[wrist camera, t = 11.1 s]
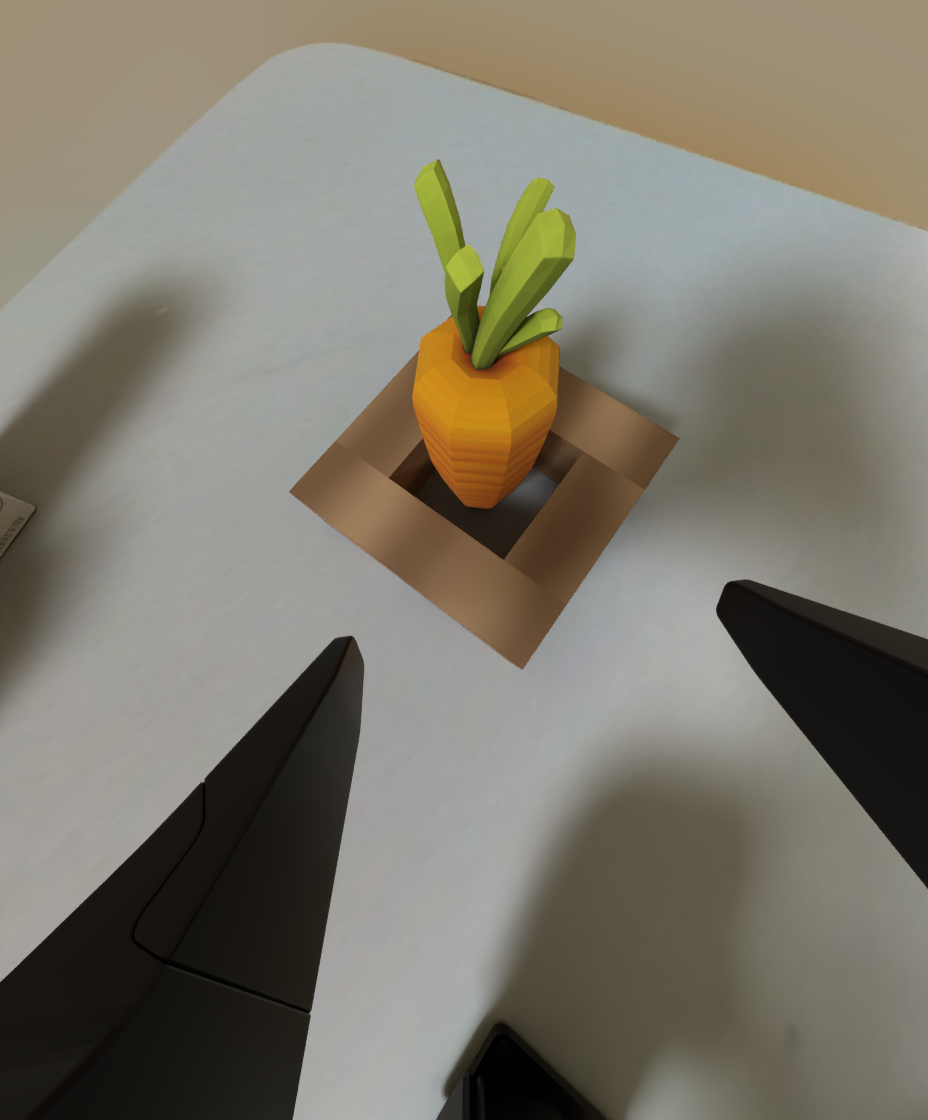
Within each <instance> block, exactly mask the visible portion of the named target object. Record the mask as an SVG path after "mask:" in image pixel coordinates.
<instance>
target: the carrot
mask: <svg viewBox="0 0 928 1120" xmlns="http://www.w3.org/2000/svg"><path fill="white" fill-rule="evenodd" d="M414 188H415V191H416V194H417V197H418V199H419V202H420V205H421V208H422V211H423V213H424V216H425V218H426V221H427V223H428V226H429V228H430V231H431V233H432V236H433V238H434V241H435V244H436V247H437V250H438V253H439V256H440V259H441V262H442V265H443V268H444V271H445V291H446V299H447V302H448V305H449V308H450V311H451V313H452V317H451V318H449V319H448V320H446V321H445V322H443V323H442V324H441V325H439V326H438V327H436V328H435V329H433V330H432V331H431V332H429V333H428V334H426V335H425V336H423V337H422V338H421V342H420V349H419V355H418V362H417V369H416V375H415V382H414V388H413V395H412V399H413V407H414V410H415V413H416V416H417V420H418V423H419V426H420V429H421V433H422V436H423V439H424V442H425V444H426V447H427V450H428V453H429V455H430V458H431V461H432V463H433V464H434V466H435V468H436V469H437V471H438V472H439V474H440V476H441V477H442V478H443V480H444V481H445V482H446V484H447V485H448V486H449V488H450V489H451V490H452V491H453V492H454V493H455V494H456V496H457V497H458V498H459V499H460V500H461V501H462V503H463V504H464V505H465V506H468V507H473V508H484V509H489V508H492V507H494V506H495V505H496V504H497V503H499V502H500V501H501V500H502V499H504V498H505V497H506V496H507V495H509V494H510V493H511V492H512V491H513V490H514V489H515V488H516V487H517V486H518V485H519V484H520V483H521V482H522V480H523V479H524V478H525V477H526V475H527V474H528V473H529V471H530V470H531V469H532V467H533V465H534V462H535V460H536V458H537V456H538V454H539V452H540V450H541V448H542V446H543V444H544V441H545V439H546V436H547V434H548V432H549V429H550V427H551V425H552V422H553V420H554V418H555V414H556V410H557V398H558V377H559V357H560V354H559V346H558V345H557V344H556V343H555V342H554V341H553V340H551V339H550V338H549V337H548V335H550V334H552V333H554V332H557V331H559V330H561V329H562V316H561V315H560V314H559V313H558V312H557V311H556V310H555V309H551V308H546V309H543V310H540V311H537V312H535V313H533V314H531V315H530V316H528V317H527V315H528V314H529V313H530V312H531V311H532V310H533V309H534V307H535V306H536V305H537V304H538V303H539V302H540V301H541V299H542V298H543V297H544V296H545V295H546V294H547V293H548V291H549V290H550V289H551V288H552V286H553V285H554V284H555V283H556V281H557V280H558V279H559V277H560V276H561V275H562V273H563V272H564V271H565V270H566V268H567V267H568V266H569V264H570V263H571V262H572V261H573V259H574V253H575V240H576V233H575V230H574V227H573V225H572V222H571V219H570V216H569V215H567V214H566V213H564V212H562V211H561V210H559V209H557V208H555V209H551V210H548V211H544V212H543V210H544V208H545V206H546V204H547V202H548V200H549V198H550V196H551V194H552V192H553V190H554V188H555V187H554V186H553V184H552V183H551V182H550V181H549V180H547V179H543V178H537V179H534V180H533V181H532V182H531V183H530V184H529V185H528V186H527V188H526V190H525V191H524V193H523V195H522V196H521V198H520V200H519V201H518V203H517V206H516V208H515V210H514V212H513V214H512V216H511V218H510V221H509V223H508V225H507V228H506V232H505V235H504V238H503V241H502V244H501V247H500V250H499V253H498V257H497V260H496V264H495V267H494V271H493V275H492V279H491V288H490V296H489V299H488V302H487V304H486V306H477V301H478V297H479V293H480V289H481V284H482V279H483V273H484V270H483V267H482V264H481V262H480V259H479V256H478V254H477V253H476V252H475V251H474V250H473V248H472V247H471V246H470V245H469V244H468V245H467V246H465V242H464V237H463V232H462V227H461V222H460V217H459V214H458V211H457V207H456V204H455V201H454V197H453V194H452V191H451V187H450V184H449V181H448V179H447V176H446V174H445V172H444V169H443V167H442V165H441V162H440V160H439V159H438V160H436V161H434V162H432V163H430V164H428V165H426V166H424V167H423V169H422V170H421V172H420V174H419V175H418V177H417V178H416V180H415V184H414Z"/></svg>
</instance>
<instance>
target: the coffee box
mask: <svg viewBox="0 0 928 1120" xmlns="http://www.w3.org/2000/svg"><path fill="white" fill-rule="evenodd" d="M34 511H35V506H33V505H31V504H29V503H26V502H24V501H21V500H19V499H17V498H15V497H12V496H10V495H8V494H6V493H3V492H1V491H0V557H1V556H2V554H3V553H4V552H5V550H6V549H7V548H8V546H9V545H10V543H11V542H12V541H13V539H14V538H15V537H16V535H17V534H18V532H19V531H20V530H21V528H22V527H23V526H24V524H25V523H26V522H27V520H28V519H29V517H30V516H31V515H32V513H33V512H34Z"/></svg>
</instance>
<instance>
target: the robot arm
mask: <svg viewBox="0 0 928 1120" xmlns="http://www.w3.org/2000/svg"><path fill="white" fill-rule="evenodd" d="M716 612H717V616H718V618H719V619H720V621H721V622H722V624H723V626H724V627H725V629H726V630H727V632H728V633H729V635H730V636H731V638H732V639H733V641H734V642H735V644H736V645H737V647H738V648H739V650H740V651H741V653H742V654H743V656H744V657H745V659H746V660H747V662H748V663H749V665H750V666H751V668H752V669H753V671H754V672H755V673H756V675H757V676H758V677H759V679H760V680H761V681H762V683H763V684H764V685H765V686H766V688H767V689H768V690H769V691H770V693H771V694H772V695H773V696H774V698H775V699H776V700H777V701H778V703H779V704H780V705H781V706H782V708H783V709H784V710H785V711H786V713H787V714H788V715H789V716H790V717H791V719H792V720H793V721H794V722H795V724H796V725H797V726H798V727H799V729H800V730H801V731H802V732H803V734H804V735H805V736H806V737H807V739H808V740H809V741H810V742H811V744H812V745H813V746H814V747H815V749H816V750H817V751H818V752H819V754H820V755H821V756H822V757H823V759H824V760H825V761H826V762H827V764H828V765H829V766H830V767H831V769H832V770H833V771H834V772H835V774H836V775H837V776H838V777H839V779H840V780H841V781H842V782H843V784H844V785H845V786H846V787H847V789H848V790H849V791H850V792H851V794H852V795H853V796H854V797H855V799H856V800H857V801H858V802H859V804H860V805H861V806H862V807H863V809H864V810H865V811H866V812H867V814H868V815H869V816H870V817H871V819H872V820H873V821H874V822H875V824H876V825H877V826H878V827H879V829H880V830H881V831H882V832H883V834H884V835H885V836H886V837H887V839H888V840H889V841H890V842H891V844H892V845H893V846H894V847H895V849H896V850H897V851H898V852H899V854H900V855H901V856H902V857H903V859H904V860H905V861H906V862H907V864H908V865H909V866H910V867H911V868H912V870H913V871H914V872H915V873H916V875H917V876H918V877H919V878H920V880H921V881H922V882H923V883H924V885H925V886H926V887H927V888H928V639H926V638H923V637H920V636H917V635H914V634H911V633H908V632H905V631H902V630H899V629H896V628H893V627H890V626H887V625H884V624H881V623H878V622H875V621H872V620H869V619H866V618H863V617H860V616H857V615H854V614H850V613H847V612H844V611H841V610H838V609H835V608H832V607H829V606H826V605H823V604H820V603H817V602H814V601H811V600H808V599H805V598H802V597H799V596H796V595H793V594H790V593H787V592H784V591H781V590H778V589H775V588H772V587H769V586H766V585H763V584H760V583H757V582H754V581H751V580H746V579H744V580H736V581H730V582H728V583H727V584H726V585H725V586H724V589H723V591H722V594H721V597H720V599H719V602H718V604H717V607H716ZM363 680H364V661H363V658H362V655H361V653H360V650H359V647H358V645H357V642H356V640H355V638H354V637H353V636H345V637H338V638H335V639H334V640H333V641H332V642H331V643H330V644H329V645H328V646H327V647H326V648H325V649H324V650H323V651H322V653H321V654H320V655H319V656H318V657H317V658H316V659H315V660H314V661H313V662H312V663H311V664H310V665H309V667H308V668H307V669H306V670H305V671H304V672H303V673H302V674H301V675H300V676H299V677H298V678H297V680H296V681H295V682H294V683H293V684H292V685H291V686H290V687H289V688H288V689H287V690H286V691H285V692H284V694H283V695H282V696H281V697H280V698H279V699H278V700H277V701H276V702H275V703H274V704H273V705H272V706H271V708H270V709H269V710H268V711H267V712H266V713H265V714H264V715H263V716H262V717H261V718H260V719H259V720H258V722H257V723H256V724H255V725H254V726H253V727H252V728H251V729H250V730H249V731H248V732H247V733H246V735H245V736H244V737H243V738H242V739H241V740H240V741H239V742H238V743H237V744H236V745H235V746H234V747H233V749H232V750H231V751H230V752H229V753H228V754H227V755H226V756H225V757H224V758H223V759H222V760H221V761H220V763H219V764H218V765H217V766H216V767H215V768H214V769H213V770H212V771H211V772H210V773H209V774H208V776H207V777H206V778H205V781H204V782H202V783H200V784H199V785H198V786H197V787H196V788H195V789H194V790H193V791H192V793H191V794H190V795H189V796H188V797H187V798H186V799H185V800H184V801H183V802H182V803H181V804H180V805H179V806H178V808H177V809H176V810H175V811H174V812H173V813H172V814H171V815H170V816H169V817H168V818H167V819H166V820H165V821H164V822H163V823H162V824H161V825H160V826H159V827H158V828H157V830H156V831H155V832H154V833H153V834H152V835H151V836H150V837H149V838H148V839H147V840H146V841H145V842H144V843H143V844H142V845H141V846H140V847H139V848H138V849H137V850H136V851H135V852H134V853H133V854H132V855H131V856H130V857H129V858H128V859H127V860H126V861H125V862H124V863H123V864H122V865H121V866H120V867H119V868H118V869H117V870H116V871H115V872H114V873H113V874H112V875H111V876H110V877H109V878H108V879H107V880H106V881H104V882H103V883H102V884H101V885H100V886H99V887H98V888H97V889H96V890H95V891H94V892H93V893H92V894H91V895H90V896H89V897H88V898H87V899H86V900H85V901H84V902H83V903H82V904H81V905H80V906H79V907H78V908H77V909H76V910H75V911H73V912H72V913H71V914H70V915H69V916H68V917H67V918H66V919H65V920H64V921H63V922H62V923H61V924H60V925H59V926H58V927H57V928H56V929H55V930H54V931H53V932H52V933H51V934H50V935H49V936H48V937H47V938H46V939H45V940H44V941H42V942H41V943H40V944H39V945H38V946H37V947H36V948H35V949H34V950H33V951H32V952H31V953H30V954H29V955H28V956H27V957H26V958H25V959H24V960H23V961H22V962H21V963H20V964H19V965H18V966H17V967H16V968H15V969H14V970H13V971H11V972H10V973H9V974H8V975H7V976H6V977H5V978H4V979H3V980H2V981H1V982H0V1120H293V1114H294V1109H295V1103H296V1097H297V1091H298V1086H299V1080H300V1074H301V1069H302V1063H303V1057H304V1051H305V1046H306V1040H307V1034H308V1029H309V1023H310V1017H311V1015H310V1012H311V1009H312V1004H313V999H314V993H315V987H316V981H317V976H318V970H319V964H320V959H321V953H322V947H323V942H324V936H325V930H326V924H327V919H328V913H329V907H330V902H331V896H332V890H333V884H334V879H335V873H336V867H337V862H338V856H339V850H340V845H341V839H342V833H343V827H344V822H345V816H346V810H347V805H348V799H349V793H350V788H351V782H352V776H353V770H354V765H355V759H356V753H357V748H358V742H359V735H360V726H361V712H362V696H363ZM500 1041H505V1042H506V1043H505V1044H504V1045H500V1044H498V1043H499V1042H500ZM437 1120H607V1119H606V1118H604V1117H603V1116H602V1115H601V1114H600V1113H599V1112H598V1111H597V1110H596V1109H595V1108H594V1107H593V1106H592V1105H591V1104H590V1103H589V1102H588V1101H587V1100H585V1099H584V1098H583V1097H582V1096H581V1095H580V1094H579V1093H578V1092H577V1091H576V1090H575V1089H574V1088H573V1087H572V1086H571V1085H570V1084H569V1083H568V1082H567V1081H565V1080H564V1079H563V1078H562V1077H561V1076H560V1075H559V1074H558V1073H557V1072H556V1071H555V1070H554V1069H553V1068H552V1067H551V1066H550V1065H549V1064H548V1063H546V1062H545V1061H544V1060H543V1059H542V1058H541V1057H540V1056H539V1055H538V1054H537V1053H536V1052H535V1051H534V1050H533V1049H532V1048H531V1047H530V1046H529V1045H528V1044H526V1043H525V1042H524V1041H523V1040H522V1039H521V1038H520V1037H519V1036H518V1035H517V1034H516V1033H515V1032H514V1031H513V1030H512V1029H511V1028H510V1027H509V1026H507V1025H506V1024H503V1023H499V1024H497V1025H495V1026H494V1027H493V1029H492V1030H491V1032H490V1034H489V1036H488V1037H487V1039H486V1041H485V1043H484V1044H483V1046H482V1048H481V1050H480V1051H479V1053H478V1055H477V1057H476V1058H475V1060H474V1062H473V1064H472V1065H471V1067H470V1069H469V1070H468V1072H466V1073H465V1074H463V1075H462V1076H461V1078H460V1079H459V1081H458V1083H457V1085H456V1086H455V1088H454V1090H453V1092H452V1093H451V1095H450V1097H449V1099H448V1100H447V1102H446V1104H445V1106H444V1107H443V1109H442V1111H441V1113H440V1114H439V1116H438V1118H437Z"/></svg>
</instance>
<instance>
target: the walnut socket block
mask: <svg viewBox="0 0 928 1120" xmlns="http://www.w3.org/2000/svg"><path fill="white" fill-rule="evenodd" d="M451 317H452V315H451V316H450V317H449V318H451ZM449 318H448V319H449ZM448 319H447V320H448ZM418 355H419V351H418V352H417V353H416V354H415V355H414V356H413V357H412V359H411V360H410V361H409V362H408V363H407V364H406V365H405V366H404V367H403V368H402V369H401V370H400V372H399V373H398V374H397V375H396V376H395V377H394V378H393V379H392V380H391V381H390V382H389V383H388V385H387V386H386V387H385V388H384V389H383V390H382V391H381V392H380V393H379V394H378V395H377V397H376V398H375V399H374V400H373V401H372V402H371V403H370V404H369V405H368V406H367V407H366V408H365V410H364V411H363V412H362V413H361V414H360V415H359V416H358V417H357V418H356V419H355V420H354V421H353V423H352V424H351V425H350V426H349V427H348V428H347V429H346V430H345V431H344V432H343V433H342V434H341V436H340V437H339V438H338V439H337V440H336V441H335V442H334V443H333V444H332V445H331V446H330V448H329V449H328V450H327V451H326V452H325V453H324V454H323V455H322V456H321V457H320V458H319V459H318V461H317V462H316V463H315V464H314V465H313V466H312V467H311V468H310V469H309V470H308V471H307V472H306V474H305V475H304V476H303V477H302V478H301V479H300V480H299V481H298V482H297V483H296V484H295V485H294V487H293V488H292V489H291V490H290V491H289V492H290V493H291V494H292V495H293V496H295V497H296V498H297V499H298V500H300V501H301V502H302V503H303V504H305V505H306V506H307V507H308V508H309V509H311V510H312V511H313V512H314V513H316V514H317V515H318V516H319V517H321V518H322V519H323V520H324V521H326V522H327V523H328V524H330V525H331V526H332V527H333V528H335V529H336V530H337V531H339V532H340V533H341V534H343V535H344V536H345V537H347V538H348V539H349V540H351V541H352V542H353V543H354V544H356V545H357V546H358V547H360V548H361V549H362V550H364V551H365V552H366V553H368V554H369V555H370V556H372V557H373V558H374V559H375V560H377V561H378V562H379V563H381V564H382V565H383V566H385V567H386V568H387V569H389V570H390V571H391V572H393V573H394V574H395V575H396V576H398V577H399V578H400V579H402V580H403V581H404V582H406V583H407V584H408V585H410V586H411V587H412V588H414V589H415V590H416V591H417V592H419V593H420V594H421V595H423V596H424V597H425V598H427V599H428V600H429V601H431V602H432V603H433V604H435V605H436V606H437V607H438V608H440V609H441V610H442V611H444V612H445V613H446V614H448V615H449V616H450V617H452V618H453V619H454V620H456V621H457V622H458V623H459V624H461V625H462V626H463V627H465V628H466V629H467V630H469V631H470V632H471V633H473V634H474V635H475V636H477V637H478V638H479V639H480V640H482V641H483V642H484V643H486V644H487V645H488V646H490V647H491V648H492V649H494V650H495V651H496V652H498V653H499V654H500V655H501V656H503V657H504V658H505V659H507V660H508V661H509V662H511V663H512V664H514V665H516V666H517V667H519V668H521V669H522V670H523V668H524V667H525V665H526V664H527V662H528V661H529V659H530V658H531V656H532V655H533V653H534V652H535V651H536V649H537V648H538V646H539V645H540V643H541V642H542V640H543V639H544V637H545V636H546V634H547V633H548V631H549V630H550V628H551V627H552V625H553V624H554V623H555V621H556V620H557V618H558V617H559V615H560V614H561V612H562V611H563V609H564V608H565V606H566V605H567V603H568V602H569V600H570V599H571V598H572V596H573V595H574V593H575V592H576V590H577V589H578V587H579V586H580V584H581V583H582V581H583V580H584V578H585V577H586V575H587V574H588V572H589V571H590V570H591V568H592V567H593V565H594V564H595V562H596V561H597V559H598V558H599V556H600V555H601V553H602V552H603V550H604V549H605V547H606V546H607V545H608V543H609V542H610V540H611V539H612V537H613V536H614V534H615V533H616V531H617V530H618V528H619V527H620V525H621V524H622V522H623V521H624V519H625V518H626V517H627V515H628V514H629V512H630V511H631V509H632V508H633V506H634V505H635V503H636V502H637V500H638V499H639V497H640V496H641V494H642V493H643V492H644V490H645V489H646V487H647V486H648V484H649V483H650V481H651V480H652V478H653V477H654V475H655V474H656V472H657V471H658V469H659V468H660V466H661V465H662V464H663V462H664V461H665V459H666V458H667V456H668V455H669V453H670V452H671V450H672V449H673V447H674V446H675V444H676V443H677V441H678V440H679V439H680V438H678V437H677V436H675V435H673V434H672V433H670V432H668V431H667V430H665V429H663V428H662V427H660V426H658V425H656V424H655V423H653V422H651V421H650V420H648V419H646V418H645V417H643V416H641V415H640V414H638V413H636V412H635V411H633V410H631V409H630V408H628V407H626V406H625V405H623V404H621V403H620V402H618V401H616V400H615V399H613V398H611V397H610V396H608V395H606V394H605V393H603V392H601V391H600V390H598V389H596V388H594V387H593V386H591V385H589V384H588V383H586V382H584V381H583V380H581V379H579V378H578V377H576V376H574V375H573V374H571V373H569V372H568V371H566V370H564V369H563V368H561V367H559V377H558V398H557V410H556V414H555V418H554V420H553V422H552V425H551V427H550V429H549V432H548V434H547V436H546V439H545V441H544V444H543V446H542V448H541V450H540V452H539V454H538V456H537V458H536V460H535V462H534V465H533V467H534V468H535V469H537V470H538V471H540V472H542V473H543V474H545V475H546V476H548V477H549V478H551V479H552V480H554V481H555V482H557V483H558V484H559V486H558V487H557V488H556V490H555V491H554V492H553V494H552V495H551V496H550V498H549V499H548V500H547V502H546V503H545V504H544V506H543V507H542V509H541V510H540V511H539V513H538V514H537V515H536V517H535V518H534V519H533V521H532V522H531V523H530V525H529V526H528V527H527V529H526V530H525V532H524V533H523V534H522V536H521V537H520V538H519V540H518V541H517V542H516V544H515V545H514V546H513V548H512V549H511V550H510V552H509V553H508V554H507V556H506V557H505V559H504V560H503V559H501V558H500V557H498V556H497V555H496V554H494V553H493V552H491V551H490V550H489V549H487V548H486V547H484V546H483V545H482V544H480V543H479V542H477V541H476V540H475V539H473V538H472V537H470V536H469V535H468V534H466V533H465V532H463V531H462V530H461V529H459V528H458V527H456V526H455V525H454V524H452V523H451V522H449V521H448V520H447V519H445V518H444V517H442V516H441V515H440V514H438V513H437V512H435V511H434V510H433V509H431V508H430V507H428V506H427V505H425V504H424V503H423V502H421V501H420V500H418V499H417V498H416V497H414V495H415V493H416V492H417V491H418V490H419V489H420V487H421V486H422V485H423V484H424V483H425V481H426V480H427V479H428V478H429V477H430V475H431V474H432V473H433V472H434V471H435V469H436V468H435V466H434V464H433V463H432V461H431V458H430V455H429V453H428V450H427V447H426V444H425V442H424V439H423V436H422V433H421V429H420V426H419V423H418V420H417V416H416V413H415V410H414V407H413V399H412V395H413V388H414V382H415V375H416V369H417V362H418Z"/></svg>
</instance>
